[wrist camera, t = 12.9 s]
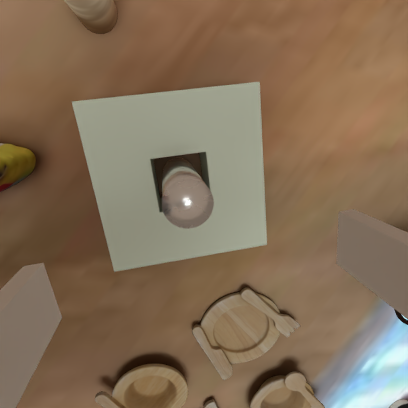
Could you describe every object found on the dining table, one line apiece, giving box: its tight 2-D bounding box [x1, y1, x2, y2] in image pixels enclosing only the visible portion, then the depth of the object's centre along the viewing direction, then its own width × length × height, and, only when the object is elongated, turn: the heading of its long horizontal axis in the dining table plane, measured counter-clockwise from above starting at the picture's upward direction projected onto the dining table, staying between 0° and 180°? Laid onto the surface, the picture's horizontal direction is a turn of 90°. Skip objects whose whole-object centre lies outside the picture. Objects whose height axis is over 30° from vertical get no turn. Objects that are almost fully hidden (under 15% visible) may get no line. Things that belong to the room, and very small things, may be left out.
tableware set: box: [95, 287, 325, 408], centre depth 43 cm, size 35×29×4 cm
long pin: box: [162, 157, 214, 229], centre depth 27 cm, size 4×4×14 cm
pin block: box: [72, 82, 267, 272], centre depth 31 cm, size 18×18×6 cm
